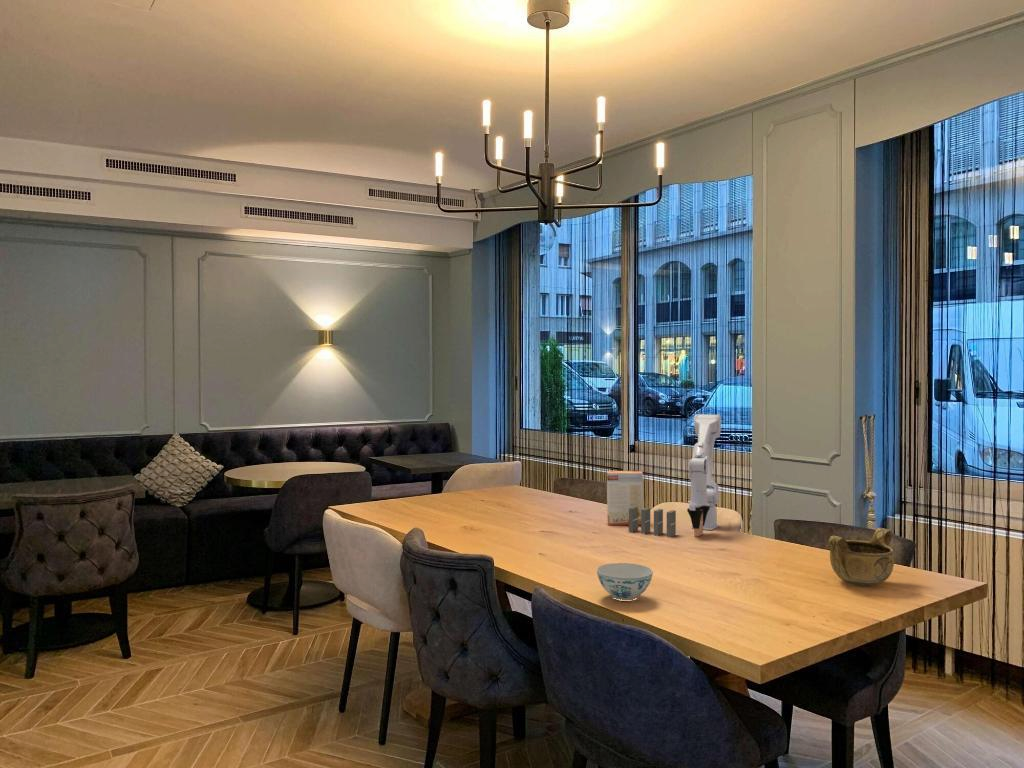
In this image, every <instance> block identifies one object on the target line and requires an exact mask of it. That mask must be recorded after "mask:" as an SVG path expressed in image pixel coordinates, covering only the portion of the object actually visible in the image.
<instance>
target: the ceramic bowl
mask: <svg viewBox="0 0 1024 768" xmlns="http://www.w3.org/2000/svg"><path fill="white" fill-rule="evenodd" d="M892 537H893V532H892V530H891V529H888V528H882V527H878V528H876V530H875V531H874V533H873V535H872V539H871V540H870V541H865V540H855V539H853V540H852V539H851V540H850V539H845V537H842V536H837V535H831V536H830V537H829V539H828V545H829V549H830V550H829V558H830V559H829V561H830V565H831V567H832V570H833V573H834V574H835V575H836V576H837V577H838V578H840V580H842V581H843V582H845V583H847V584H849V585H851V584H852V586H855V587H859V586H860V587H862V588H871V587H874V586H878V585H880V584H881V583H884V582H885V581H887V580H888V579H889V578H890V576H891V575H892V573H893V570H894V566H895V565H894V564H895V556H894V550H893V548H892V547H891V546H890V543H891V541H892Z"/></svg>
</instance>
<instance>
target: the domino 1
mask: <svg viewBox="0 0 1024 768" xmlns="http://www.w3.org/2000/svg"><path fill="white" fill-rule="evenodd" d="M640 528H641V529H640V534H641V533H647V532H649V531H650V532H651V507H643V509H642V510H641V526H640ZM650 532H649V533H650ZM647 534H648V533H647Z"/></svg>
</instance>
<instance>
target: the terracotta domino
mask: <svg viewBox="0 0 1024 768" xmlns="http://www.w3.org/2000/svg"><path fill="white" fill-rule="evenodd" d="M699 510H701V509H699ZM693 530H694V531H693V532H694V534H693V535H694V537H700V536H702V535H703V534H704V529H703V513H702V516H701V520H700V527H699V529H696V528H693Z"/></svg>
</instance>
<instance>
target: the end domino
mask: <svg viewBox="0 0 1024 768" xmlns="http://www.w3.org/2000/svg"><path fill="white" fill-rule="evenodd" d="M636 530H637V531H639V525H638V507H636V506H634V507H631V508H629V525H628V532H629V531H630V532H629V533H632V532H633V531H635V532H637V531H636ZM633 533H634V532H633Z"/></svg>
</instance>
